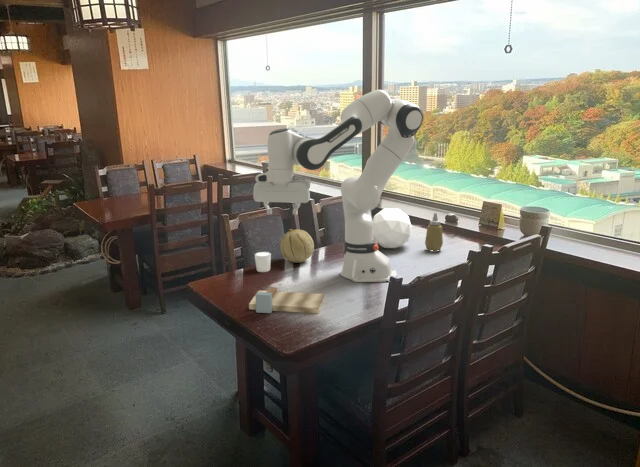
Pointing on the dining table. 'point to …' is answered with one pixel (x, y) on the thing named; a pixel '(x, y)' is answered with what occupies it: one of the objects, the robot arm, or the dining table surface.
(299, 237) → the cantaloupe
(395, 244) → the ball
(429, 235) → the squeeze bottle
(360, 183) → the robot arm
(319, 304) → the maple board
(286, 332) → the dining table surface
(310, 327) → the dining table surface
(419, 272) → the dining table surface
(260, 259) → the white cup
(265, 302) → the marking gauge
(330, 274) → the dining table surface
